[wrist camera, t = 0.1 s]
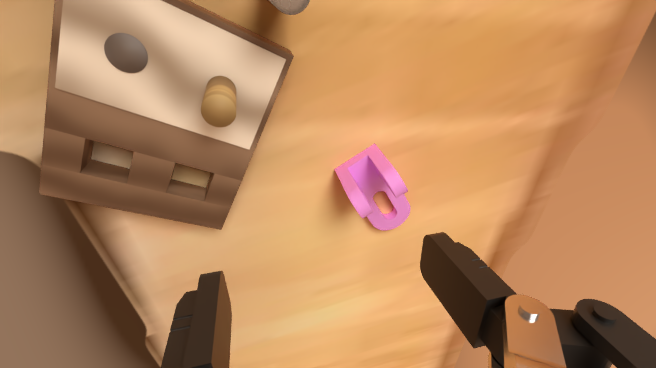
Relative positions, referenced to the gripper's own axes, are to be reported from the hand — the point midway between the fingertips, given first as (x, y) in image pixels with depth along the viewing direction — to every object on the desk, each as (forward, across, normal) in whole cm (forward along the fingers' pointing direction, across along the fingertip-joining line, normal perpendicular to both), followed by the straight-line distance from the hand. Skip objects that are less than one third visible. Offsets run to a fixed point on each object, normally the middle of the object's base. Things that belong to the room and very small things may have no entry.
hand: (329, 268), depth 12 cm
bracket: (+24, -12, +11) cm, 29 cm away
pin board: (+22, +10, -2) cm, 24 cm away
